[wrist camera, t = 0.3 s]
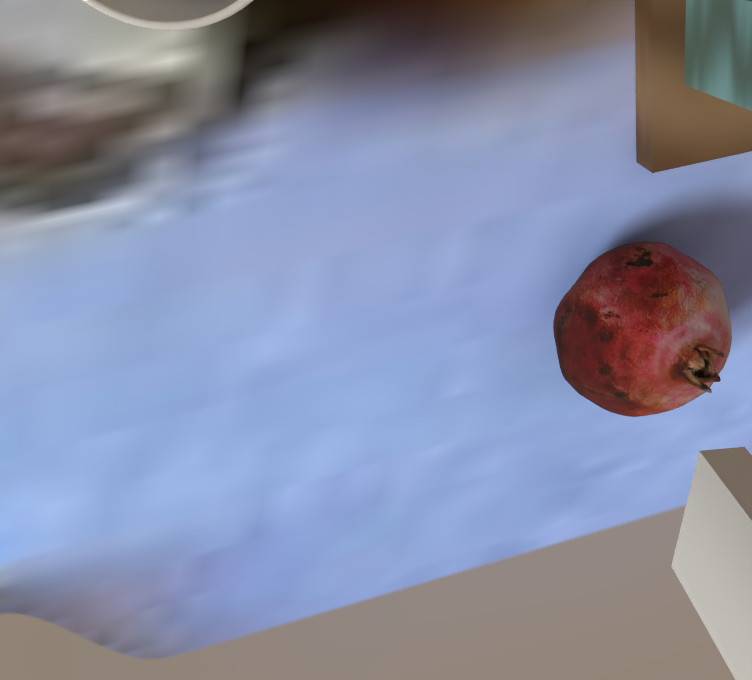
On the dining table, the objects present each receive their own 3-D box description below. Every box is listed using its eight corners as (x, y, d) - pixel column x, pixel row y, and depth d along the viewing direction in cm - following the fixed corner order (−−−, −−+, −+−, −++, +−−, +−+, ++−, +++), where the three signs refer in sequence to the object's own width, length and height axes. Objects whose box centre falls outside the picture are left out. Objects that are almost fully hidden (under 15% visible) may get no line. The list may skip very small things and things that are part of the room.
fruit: (516, 357, 42) (567, 464, 33) (564, 210, 38) (638, 290, 29) (653, 375, 43) (736, 481, 35) (716, 235, 39) (829, 318, 30)
